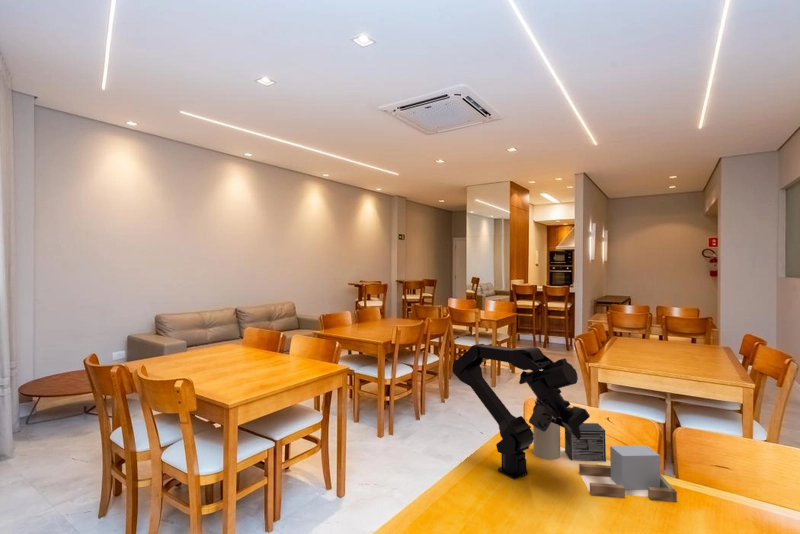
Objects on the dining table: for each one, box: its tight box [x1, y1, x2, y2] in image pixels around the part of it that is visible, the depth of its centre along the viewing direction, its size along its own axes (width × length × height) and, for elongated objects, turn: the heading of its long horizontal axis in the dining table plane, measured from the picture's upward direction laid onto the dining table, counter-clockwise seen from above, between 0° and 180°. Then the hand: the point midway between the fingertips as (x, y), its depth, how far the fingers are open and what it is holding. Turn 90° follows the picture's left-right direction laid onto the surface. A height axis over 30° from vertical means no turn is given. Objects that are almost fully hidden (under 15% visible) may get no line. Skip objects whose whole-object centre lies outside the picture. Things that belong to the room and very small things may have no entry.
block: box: [609, 445, 661, 490], centre depth 112 cm, size 10×6×9 cm, turn 91°
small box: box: [564, 422, 607, 463], centre depth 129 cm, size 11×6×10 cm, turn 84°
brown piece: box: [578, 463, 678, 503], centre depth 111 cm, size 20×22×4 cm
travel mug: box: [532, 397, 561, 461], centre depth 131 cm, size 8×8×18 cm
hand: (578, 438), depth 114 cm, fingers closed
